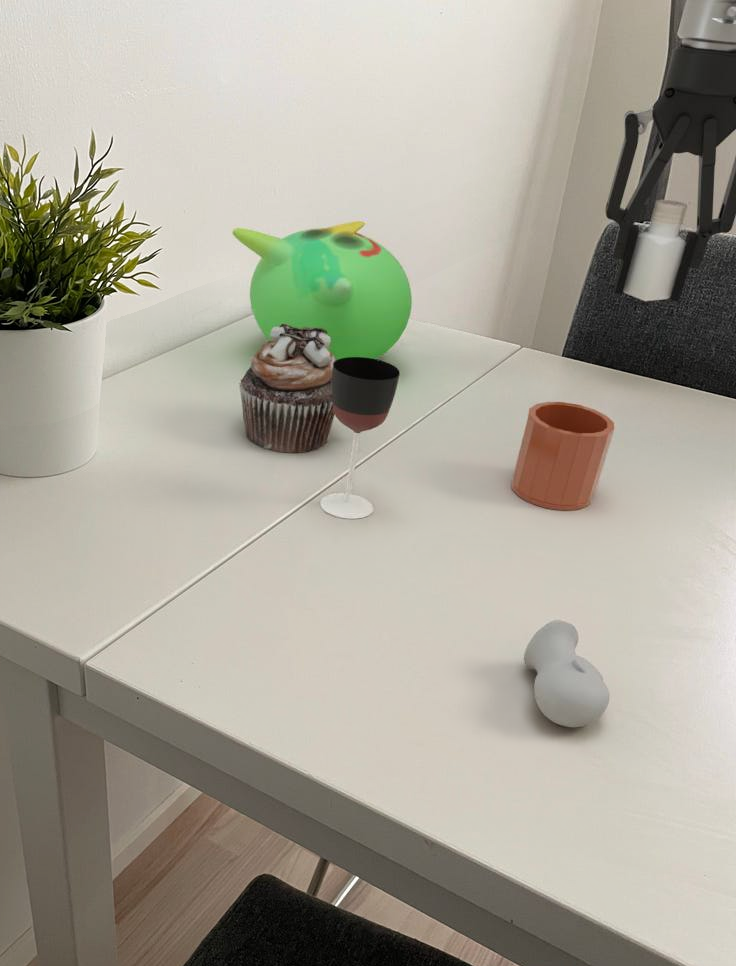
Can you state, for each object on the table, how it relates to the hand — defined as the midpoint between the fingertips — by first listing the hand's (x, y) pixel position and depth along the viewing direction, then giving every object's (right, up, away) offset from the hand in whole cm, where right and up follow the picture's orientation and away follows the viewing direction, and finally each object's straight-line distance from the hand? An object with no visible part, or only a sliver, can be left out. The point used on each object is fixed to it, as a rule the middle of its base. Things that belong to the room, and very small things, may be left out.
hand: (645, 293), depth 108 cm
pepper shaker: (0, 0, 0) cm, 0 cm away
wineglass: (-35, -26, -24) cm, 50 cm away
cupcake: (-39, -18, -13) cm, 45 cm away
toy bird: (-35, -6, +4) cm, 36 cm away
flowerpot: (-16, -24, -18) cm, 34 cm away
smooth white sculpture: (-22, -42, -43) cm, 64 cm away
